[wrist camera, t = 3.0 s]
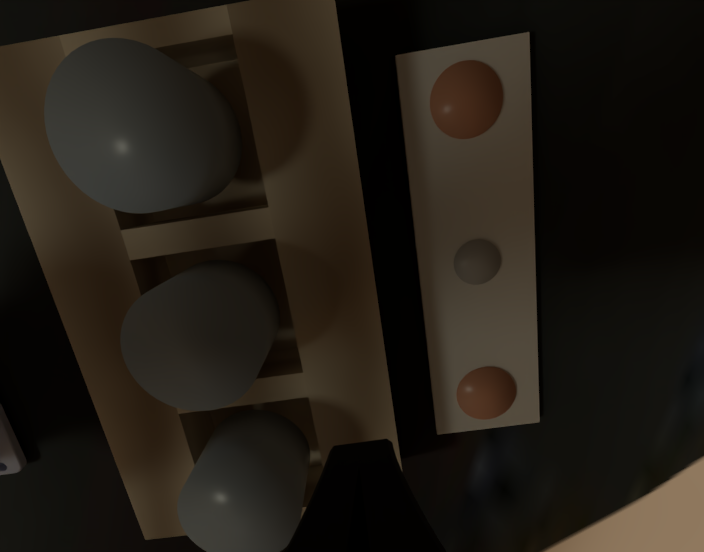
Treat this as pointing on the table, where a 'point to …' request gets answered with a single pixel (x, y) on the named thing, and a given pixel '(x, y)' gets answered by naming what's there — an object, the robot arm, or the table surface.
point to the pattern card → (474, 227)
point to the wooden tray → (218, 240)
